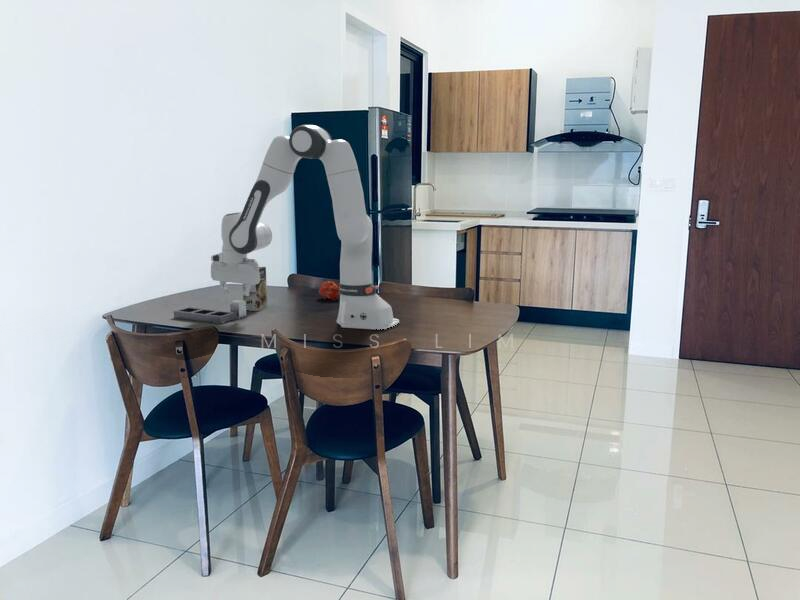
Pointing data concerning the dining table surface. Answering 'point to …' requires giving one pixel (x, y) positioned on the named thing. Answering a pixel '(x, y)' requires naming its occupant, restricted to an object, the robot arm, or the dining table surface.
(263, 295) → the coffee box
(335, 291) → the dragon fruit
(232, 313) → the grey compartment tray
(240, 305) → the nut block
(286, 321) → the dining table surface
